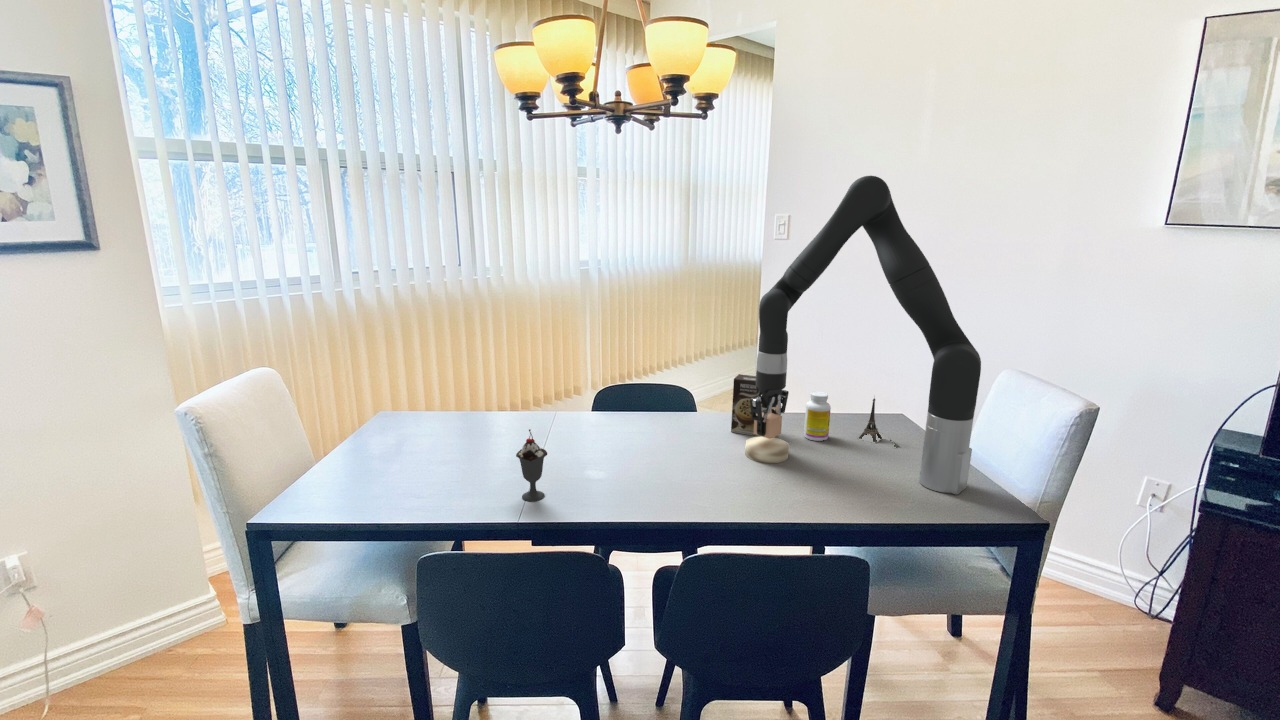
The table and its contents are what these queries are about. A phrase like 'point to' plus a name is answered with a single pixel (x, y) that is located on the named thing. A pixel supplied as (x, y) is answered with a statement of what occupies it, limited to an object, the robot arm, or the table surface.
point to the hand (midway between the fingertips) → (767, 432)
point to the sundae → (532, 467)
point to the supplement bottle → (817, 417)
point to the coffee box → (743, 404)
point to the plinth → (766, 450)
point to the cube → (771, 425)
